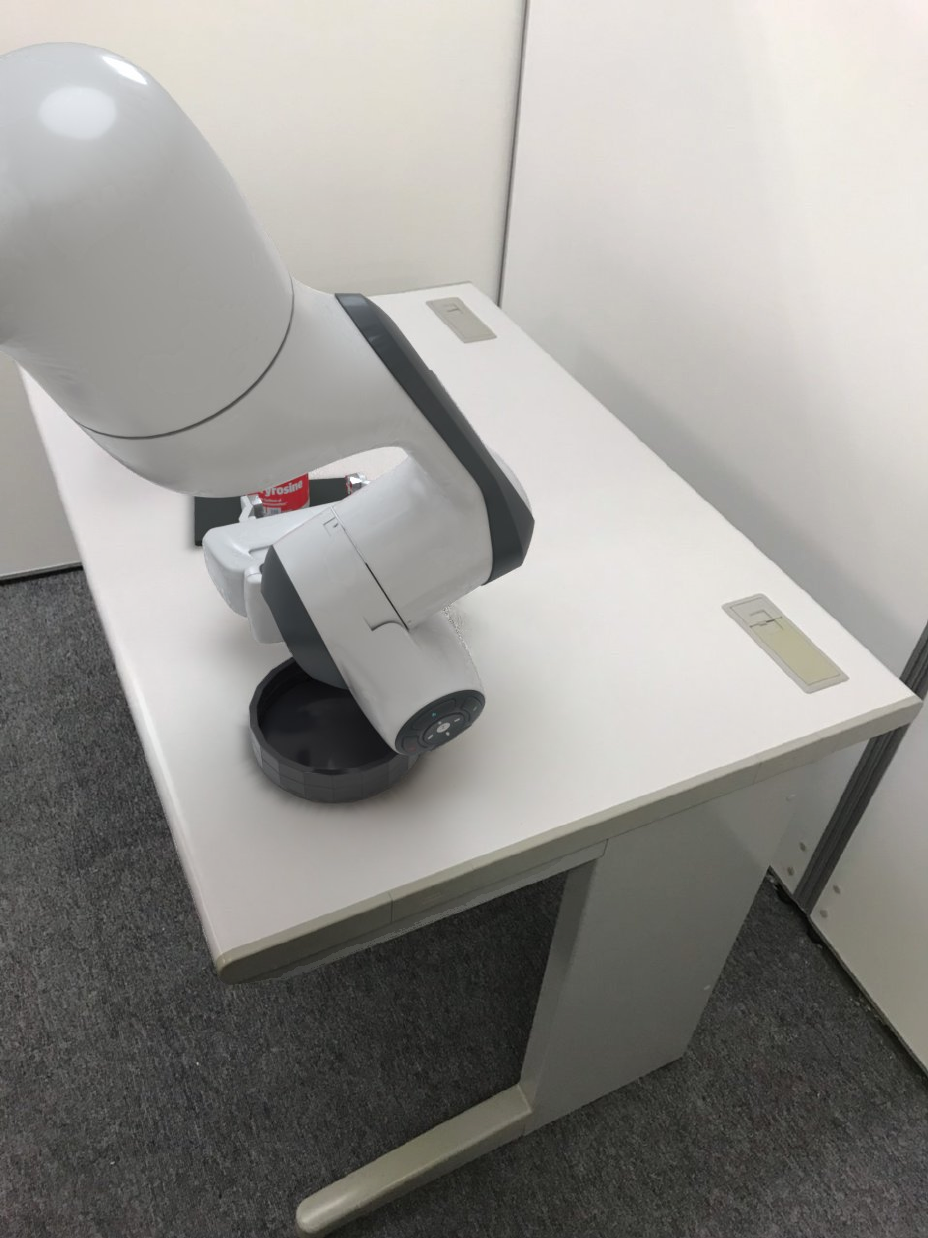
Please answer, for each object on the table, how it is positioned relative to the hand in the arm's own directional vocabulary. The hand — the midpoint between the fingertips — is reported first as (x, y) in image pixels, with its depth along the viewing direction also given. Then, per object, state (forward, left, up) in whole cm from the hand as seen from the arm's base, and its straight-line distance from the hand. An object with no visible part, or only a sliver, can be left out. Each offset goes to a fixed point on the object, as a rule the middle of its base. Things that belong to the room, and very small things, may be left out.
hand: (302, 490), depth 85 cm
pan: (+1, -21, -9) cm, 22 cm away
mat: (-2, +9, -9) cm, 13 cm away
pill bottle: (-2, +9, -9) cm, 13 cm away
